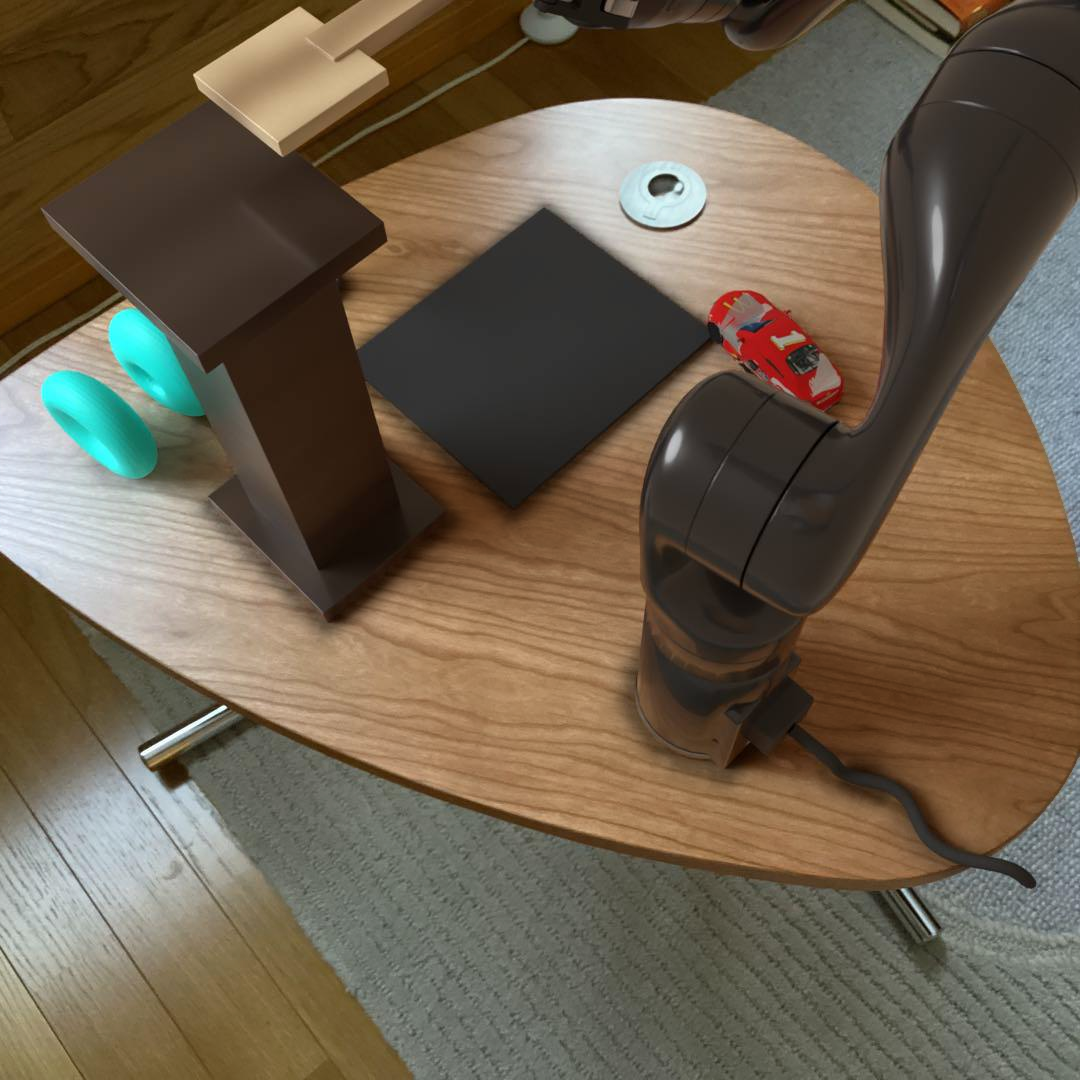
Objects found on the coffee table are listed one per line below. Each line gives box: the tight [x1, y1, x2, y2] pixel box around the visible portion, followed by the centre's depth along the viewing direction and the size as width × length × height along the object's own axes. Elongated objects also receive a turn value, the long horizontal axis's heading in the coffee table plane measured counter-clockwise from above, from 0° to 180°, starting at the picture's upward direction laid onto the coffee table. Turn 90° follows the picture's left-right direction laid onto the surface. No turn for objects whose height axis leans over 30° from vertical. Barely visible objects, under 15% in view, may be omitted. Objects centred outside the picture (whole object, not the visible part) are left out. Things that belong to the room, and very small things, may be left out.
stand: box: [40, 98, 449, 623], centre depth 75 cm, size 14×12×32 cm
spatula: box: [193, 0, 455, 157], centre depth 61 cm, size 7×20×1 cm, turn 135°
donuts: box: [40, 307, 206, 480], centre depth 89 cm, size 10×10×10 cm
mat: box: [356, 206, 713, 511], centre depth 95 cm, size 20×23×1 cm
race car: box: [706, 289, 845, 413], centre depth 92 cm, size 13×5×4 cm, turn 33°
